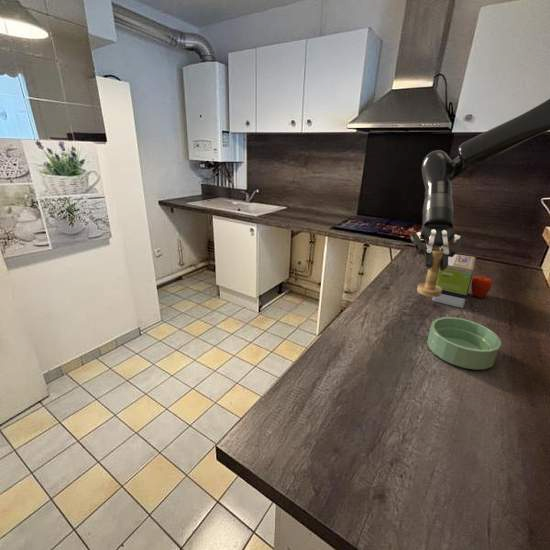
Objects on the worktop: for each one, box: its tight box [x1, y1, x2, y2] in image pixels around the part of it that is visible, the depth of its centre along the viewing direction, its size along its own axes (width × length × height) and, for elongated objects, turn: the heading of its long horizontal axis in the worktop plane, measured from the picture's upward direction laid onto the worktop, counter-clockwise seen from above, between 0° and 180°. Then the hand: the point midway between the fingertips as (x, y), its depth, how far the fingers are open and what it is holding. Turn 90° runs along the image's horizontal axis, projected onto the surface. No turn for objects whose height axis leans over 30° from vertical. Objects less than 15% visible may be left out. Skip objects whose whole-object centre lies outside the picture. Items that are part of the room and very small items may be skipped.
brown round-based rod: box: [416, 249, 443, 298], centre depth 79 cm, size 6×6×12 cm
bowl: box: [426, 316, 502, 370], centre depth 77 cm, size 16×16×6 cm
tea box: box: [432, 253, 477, 309], centre depth 105 cm, size 15×10×15 cm
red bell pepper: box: [470, 275, 493, 298], centre depth 107 cm, size 6×6×8 cm
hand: (436, 268), depth 76 cm, fingers closed on brown round-based rod, 2 cm apart
